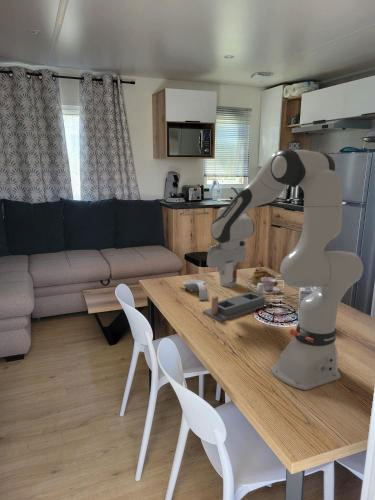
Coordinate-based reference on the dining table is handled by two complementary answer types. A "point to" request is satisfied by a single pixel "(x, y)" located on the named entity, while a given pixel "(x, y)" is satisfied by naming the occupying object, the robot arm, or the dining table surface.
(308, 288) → the syrup box
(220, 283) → the fruit juice
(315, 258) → the robot arm
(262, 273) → the pastry
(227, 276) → the white cylinder
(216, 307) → the socket board
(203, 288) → the handheld barcode scanner
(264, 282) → the teacup
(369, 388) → the dining table surface
